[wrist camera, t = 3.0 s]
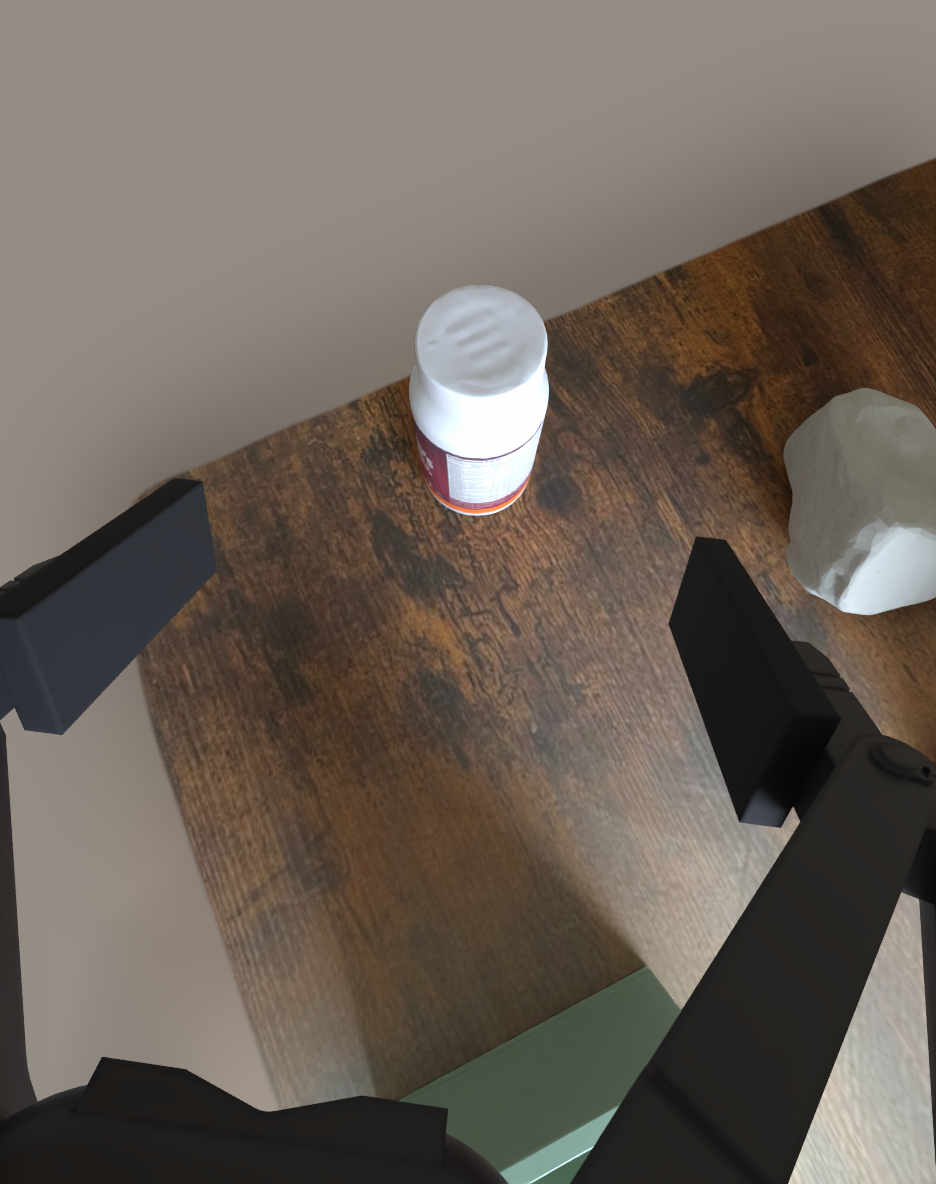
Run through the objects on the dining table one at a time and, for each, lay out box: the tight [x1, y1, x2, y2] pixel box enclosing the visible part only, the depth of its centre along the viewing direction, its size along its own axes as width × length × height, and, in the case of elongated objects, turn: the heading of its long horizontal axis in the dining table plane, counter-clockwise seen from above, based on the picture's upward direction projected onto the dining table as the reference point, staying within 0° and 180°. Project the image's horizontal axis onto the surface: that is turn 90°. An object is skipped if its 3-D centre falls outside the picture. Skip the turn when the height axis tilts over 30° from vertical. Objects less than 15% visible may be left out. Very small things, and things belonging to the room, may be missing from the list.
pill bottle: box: [409, 284, 549, 516], centre depth 28 cm, size 6×6×11 cm
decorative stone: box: [783, 388, 936, 615], centre depth 29 cm, size 11×9×10 cm
